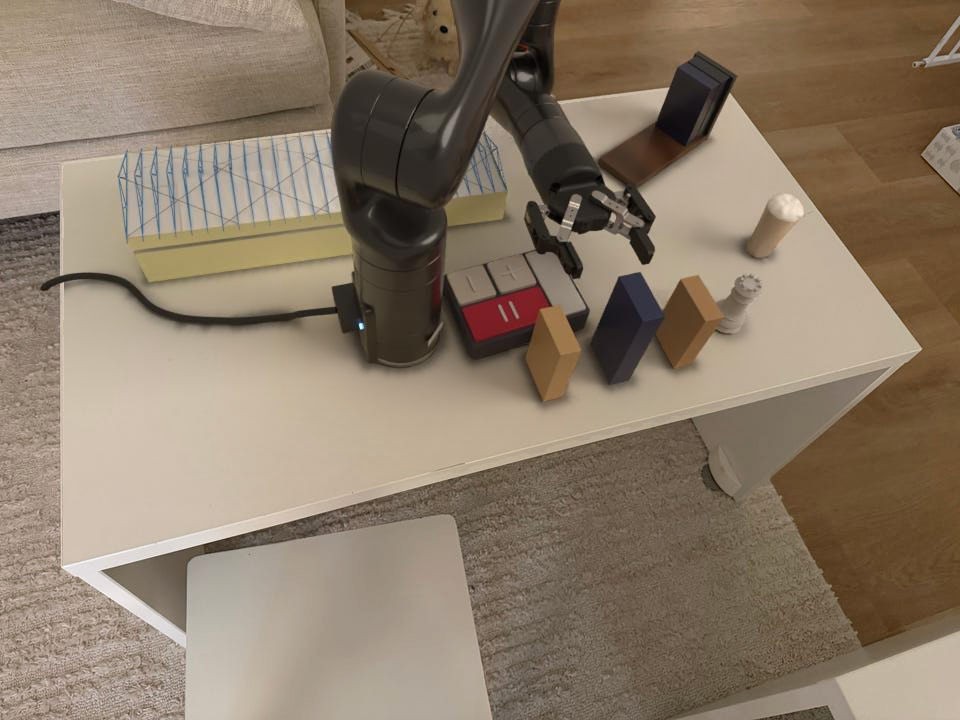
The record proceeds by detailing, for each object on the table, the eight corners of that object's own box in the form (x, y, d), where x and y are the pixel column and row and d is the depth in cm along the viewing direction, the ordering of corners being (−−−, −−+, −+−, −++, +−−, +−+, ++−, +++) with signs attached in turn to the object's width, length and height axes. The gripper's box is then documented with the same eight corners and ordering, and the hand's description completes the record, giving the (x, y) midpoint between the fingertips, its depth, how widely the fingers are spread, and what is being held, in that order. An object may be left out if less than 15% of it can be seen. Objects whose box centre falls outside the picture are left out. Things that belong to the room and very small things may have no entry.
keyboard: (148, 285, 79) (116, 225, 70) (146, 196, 86) (117, 131, 77) (509, 235, 88) (520, 176, 80) (480, 158, 96) (487, 97, 87)
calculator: (440, 271, 79) (554, 239, 83) (440, 292, 83) (549, 261, 86) (473, 344, 74) (592, 308, 78) (471, 363, 78) (586, 328, 81)
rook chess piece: (745, 317, 85) (775, 277, 78) (734, 341, 83) (763, 303, 76) (713, 301, 86) (739, 261, 79) (701, 324, 84) (727, 285, 77)
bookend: (633, 191, 95) (658, 127, 86) (597, 164, 98) (617, 98, 88) (707, 139, 103) (737, 75, 93) (672, 115, 105) (698, 50, 96)
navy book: (609, 385, 78) (642, 321, 67) (589, 343, 80) (618, 276, 69) (629, 380, 78) (665, 316, 67) (608, 339, 81) (640, 271, 70)
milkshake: (765, 271, 89) (802, 219, 81) (734, 246, 91) (768, 193, 83) (784, 256, 91) (823, 204, 83) (754, 232, 93) (789, 178, 85)
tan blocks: (543, 402, 76) (560, 355, 67) (525, 358, 78) (539, 308, 70) (691, 364, 80) (724, 316, 72) (669, 325, 83) (698, 274, 75)
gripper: (509, 149, 75) (561, 256, 68) (620, 132, 79) (683, 232, 71) (501, 197, 82) (548, 300, 74) (604, 180, 85) (660, 276, 78)
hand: (614, 266), depth 73 cm, fingers open, 8 cm apart
